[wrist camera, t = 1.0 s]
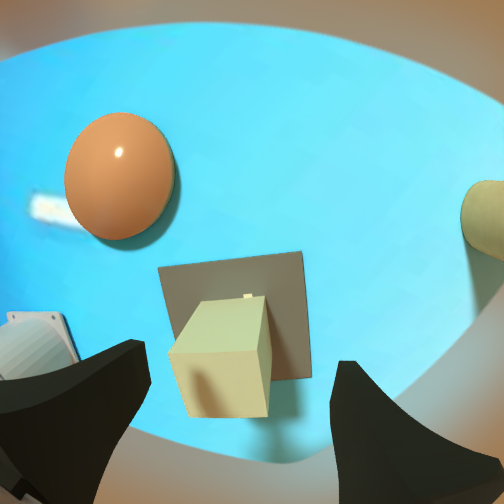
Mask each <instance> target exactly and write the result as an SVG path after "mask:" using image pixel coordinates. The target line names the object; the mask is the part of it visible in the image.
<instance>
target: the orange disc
mask: <svg viewBox="0 0 504 504" xmlns="http://www.w3.org/2000/svg"><path fill="white" fill-rule="evenodd" d="M174 181H175V163H174V157H173V153H172V150H171V147H170V145H169V143H168V141H167V139H166V137H165V136H164V134H163V133H162V132H161V131H160V129H159V128H158V127H157V126H155V125H154V124H153V123H152V122H150V121H148V120H146V119H144V118H142V117H140V116H137V115H134V114H130V113H111V114H108V115H105V116H102V117H100V118H98V119H97V120H95V121H93V122H92V123H91V124H89V125H88V126H87V127H86V128H85V129H84V130H83V131H82V132H81V133H80V135H79V136H78V137H77V139H76V141H75V142H74V144H73V146H72V148H71V150H70V152H69V155H68V158H67V162H66V167H65V175H64V184H65V193H66V198H67V201H68V204H69V207H70V209H71V211H72V213H73V215H74V216H75V218H76V219H77V221H78V222H79V223H80V224H81V225H82V226H83V227H84V228H85V229H86V230H87V231H89V232H90V233H92V234H93V235H95V236H98V237H100V238H104V239H108V240H120V239H125V238H129V237H131V236H134V235H136V234H138V233H141V232H143V231H144V230H146V229H148V228H149V227H150V226H151V225H153V224H154V223H155V222H156V221H157V220H158V218H159V217H160V216H161V214H162V213H163V212H164V210H165V208H166V206H167V205H168V202H169V200H170V198H171V194H172V191H173V187H174Z"/></svg>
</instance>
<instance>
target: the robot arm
mask: <svg viewBox="0 0 504 504" xmlns="http://www.w3.org/2000/svg"><path fill="white" fill-rule="evenodd" d="M54 316H55V317H54ZM7 318H8V321H9V322H7V323H6V324H4V325H3V326H1V327H0V504H93V502H94V498H95V496H96V492H97V490H98V487H99V484H100V481H101V478H102V476H103V473H104V471H105V468H106V466H107V464H108V461H109V459H110V457H111V455H112V453H113V450H114V449H115V447H116V445H117V443H118V441H119V440H120V438H121V437H122V435H123V433H124V432H125V430H126V429H127V427H128V426H129V424H130V423H131V421H132V419H133V418H134V416H135V415H136V413H137V411H138V410H139V408H140V407H141V405H142V403H143V401H144V399H145V397H146V395H147V392H148V390H149V387H150V385H151V378H150V373H149V367H148V361H147V355H146V349H145V343H144V341H139V340H133V339H129V340H127V341H124V342H122V343H119V344H117V345H115V346H113V347H111V348H109V349H107V350H104V351H102V352H100V353H98V354H96V355H94V356H91V357H89V358H87V359H85V360H82V361H80V362H79V359H78V357H77V354H76V352H75V349H74V347H73V344H72V341H71V339H70V336H69V333H68V330H67V328H66V325H65V322H64V319H63V316H62V314H61V313H60V312H58V311H50V312H23V311H9V312H7ZM330 426H331V433H332V439H333V445H334V451H335V456H336V463H337V470H338V478H339V504H492V503H493V502H494V501H495V500H496V499H497V498H498V497H499V496H500V495H501V494H502V493H503V492H504V468H503V466H502V464H501V462H500V461H499V459H498V458H495V457H491V456H488V455H484V454H481V453H478V452H474V451H472V450H469V449H467V448H464V447H462V446H460V445H457V444H455V443H453V442H451V441H449V440H447V439H445V438H443V437H441V436H440V435H438V434H436V433H434V432H433V431H431V430H429V429H428V428H426V427H425V426H423V425H422V424H420V423H419V422H418V421H416V420H415V419H414V418H412V417H411V416H410V415H408V414H407V413H406V412H405V411H403V410H402V409H401V408H400V407H399V406H398V405H397V404H396V403H395V402H393V401H392V400H391V399H390V398H389V397H388V396H387V395H386V394H385V393H384V392H383V391H382V390H381V389H380V388H379V387H378V386H377V384H376V383H375V382H374V381H373V380H372V379H371V378H370V377H369V376H368V375H367V373H366V372H365V371H364V370H363V369H362V368H361V367H360V365H359V364H358V363H357V362H356V361H339V363H338V368H337V372H336V377H335V381H334V386H333V390H332V394H331V399H330Z"/></svg>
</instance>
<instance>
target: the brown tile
mask: <svg viewBox="0 0 504 504" xmlns="http://www.w3.org/2000/svg"><path fill="white" fill-rule="evenodd" d="M158 272H159V277H160V282H161V286H162V290H163V294H164V299H165V303H166V307H167V311H168V315H169V319H170V323H171V326H172V330H173V334H174V338H175V341H176V340H177V338H178V336H179V335H180V333H181V332H182V330H183V329H184V327H185V326H186V324H187V323H188V321H189V319H190V318H191V316H192V315H193V313H194V312H195V310H196V309H197V307H198V306H199V304H200V302H201V301H214V300H225V299H236V298H247V297H257V296H265V301H266V308H267V315H268V323H269V330H270V337H271V345H272V366H271V381H275V380H287V379H298V378H307V377H311V359H310V344H309V329H308V316H307V304H306V293H305V282H304V271H303V261H302V252H301V251H296V252H287V253H279V254H270V255H262V256H253V257H244V258H236V259H227V260H218V261H209V262H201V263H192V264H183V265H174V266H165V267H158Z"/></svg>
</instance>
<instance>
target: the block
mask: <svg viewBox="0 0 504 504" xmlns="http://www.w3.org/2000/svg"><path fill="white" fill-rule="evenodd" d="M168 356H169V359H170V363H171V366H172V369H173V372H174V375H175V378H176V381H177V384H178V387H179V390H180V393H181V396H182V399H183V402H184V404H185V407H186V410H187V413H188V415H189V417H198V418H254V417H268V409H269V395H270V381H271V366H272V345H271V337H270V330H269V323H268V315H267V308H266V301H265V296H257V297H247V298H236V299H225V300H214V301H201V302H200V304H199V306H198V307H197V309H196V310H195V312H194V313H193V315H192V316H191V318H190V319H189V321H188V323H187V324H186V326H185V327H184V329H183V330H182V332H181V333H180V335H179V336H178V338H177V340H176V341H175V343H174V344H173V346H172V347H171V349H170V351H169V352H168Z"/></svg>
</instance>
